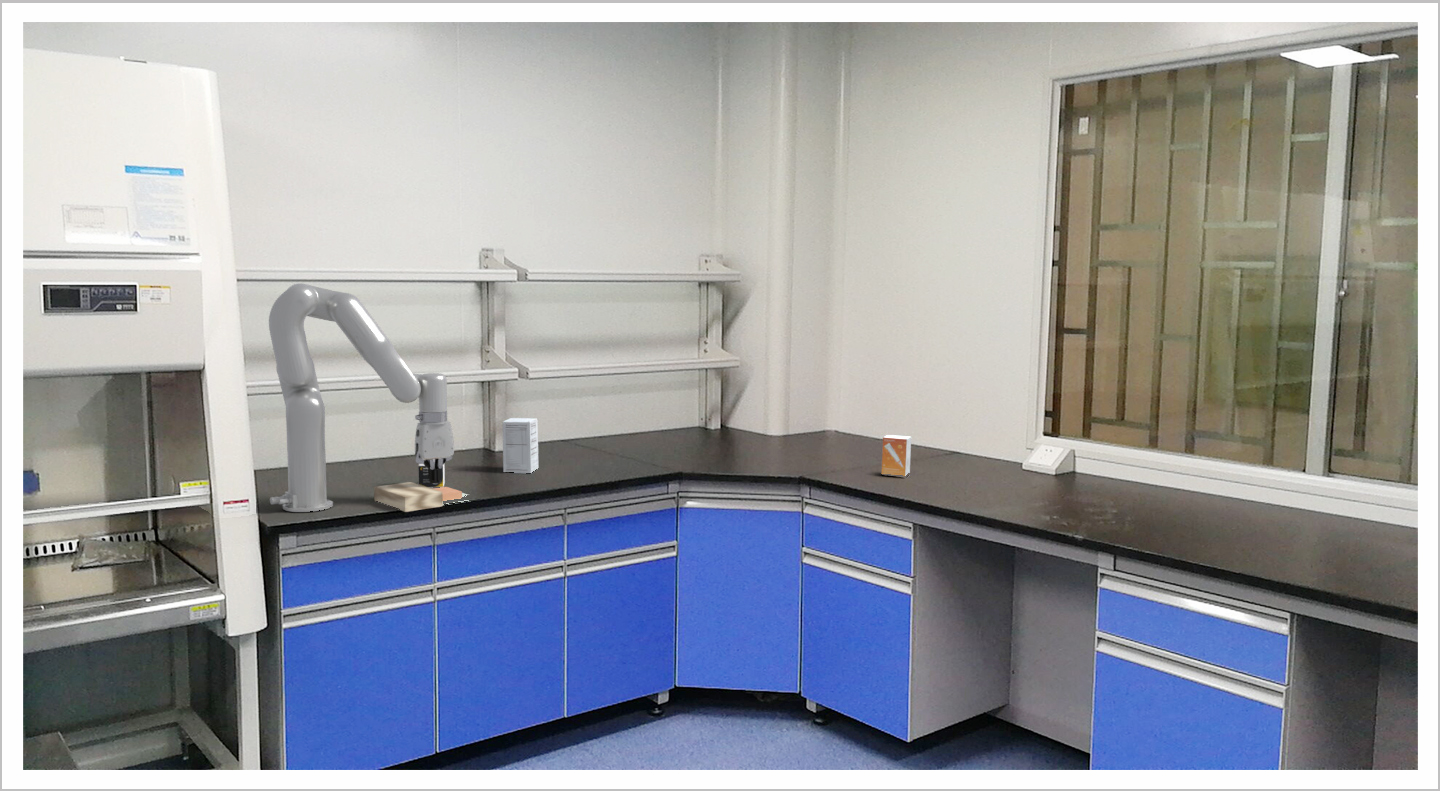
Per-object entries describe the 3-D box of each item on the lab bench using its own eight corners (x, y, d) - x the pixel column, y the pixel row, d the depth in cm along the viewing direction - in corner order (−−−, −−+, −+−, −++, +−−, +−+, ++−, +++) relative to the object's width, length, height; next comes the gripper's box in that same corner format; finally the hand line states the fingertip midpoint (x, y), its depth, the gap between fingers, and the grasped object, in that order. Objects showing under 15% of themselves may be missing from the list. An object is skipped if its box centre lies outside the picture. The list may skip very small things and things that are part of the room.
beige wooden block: (405, 511, 285) (405, 497, 284) (374, 500, 298) (374, 486, 297) (442, 506, 292) (442, 491, 292) (410, 495, 305) (410, 481, 305)
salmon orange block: (442, 494, 297) (442, 501, 297) (461, 491, 301) (462, 498, 301) (427, 489, 303) (427, 496, 303) (446, 486, 307) (446, 493, 307)
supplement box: (539, 468, 350) (539, 418, 348) (531, 474, 341) (531, 421, 339) (510, 468, 351) (510, 417, 349) (502, 473, 342) (501, 421, 340)
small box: (881, 476, 346) (882, 436, 345) (885, 473, 352) (887, 434, 350) (905, 478, 343) (907, 438, 341) (910, 475, 349) (911, 436, 347)
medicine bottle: (418, 488, 315) (417, 448, 314) (420, 483, 322) (419, 444, 321) (443, 488, 317) (442, 448, 315) (444, 483, 324) (444, 444, 322)
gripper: (415, 421, 290) (416, 487, 292) (464, 416, 300) (464, 481, 302) (402, 418, 295) (403, 483, 297) (450, 414, 306) (451, 477, 308)
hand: (434, 482), depth 300 cm, fingers closed
